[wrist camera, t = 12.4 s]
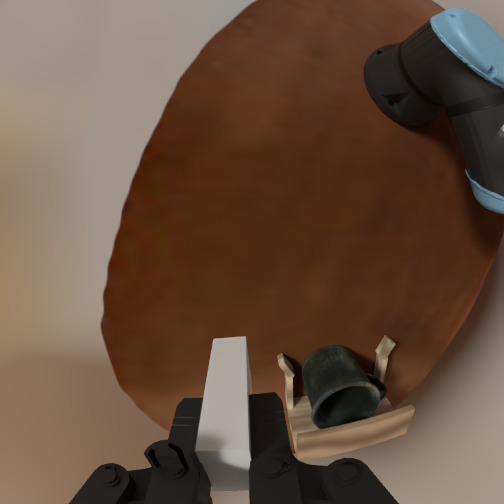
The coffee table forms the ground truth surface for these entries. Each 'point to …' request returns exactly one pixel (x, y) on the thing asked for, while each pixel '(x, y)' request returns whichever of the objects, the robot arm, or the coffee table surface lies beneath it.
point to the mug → (339, 388)
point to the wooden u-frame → (348, 435)
